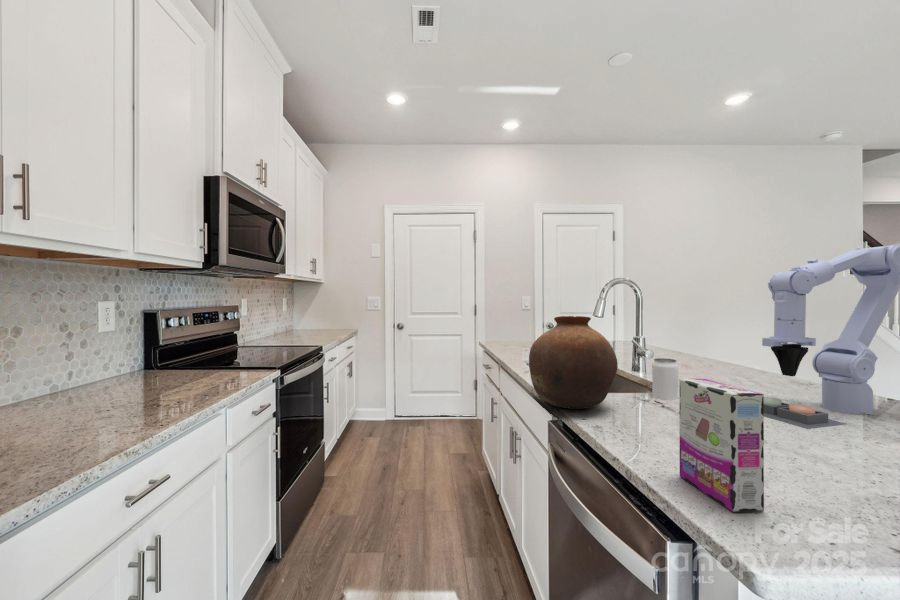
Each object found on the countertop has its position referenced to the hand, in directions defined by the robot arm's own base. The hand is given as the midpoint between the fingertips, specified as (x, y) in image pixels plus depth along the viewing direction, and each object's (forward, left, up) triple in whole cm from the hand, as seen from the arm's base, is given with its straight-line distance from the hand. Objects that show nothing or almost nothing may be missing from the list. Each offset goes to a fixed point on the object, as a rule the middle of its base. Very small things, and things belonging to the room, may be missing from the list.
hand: (788, 375), depth 93 cm
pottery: (+45, -23, -11) cm, 52 cm away
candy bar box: (+49, +24, -11) cm, 56 cm away
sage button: (+3, -2, -8) cm, 9 cm away
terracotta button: (+3, +5, -8) cm, 10 cm away
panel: (+3, -2, -10) cm, 11 cm away
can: (+17, -20, -11) cm, 29 cm away
